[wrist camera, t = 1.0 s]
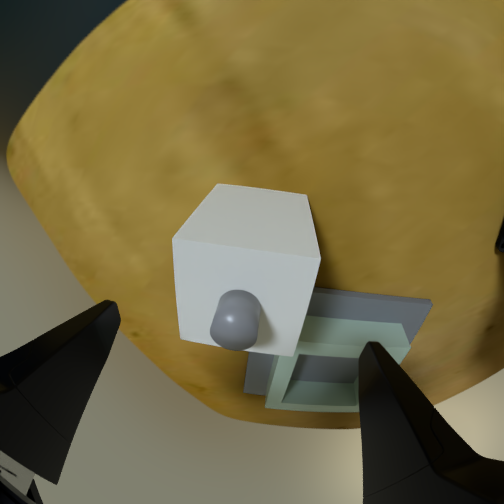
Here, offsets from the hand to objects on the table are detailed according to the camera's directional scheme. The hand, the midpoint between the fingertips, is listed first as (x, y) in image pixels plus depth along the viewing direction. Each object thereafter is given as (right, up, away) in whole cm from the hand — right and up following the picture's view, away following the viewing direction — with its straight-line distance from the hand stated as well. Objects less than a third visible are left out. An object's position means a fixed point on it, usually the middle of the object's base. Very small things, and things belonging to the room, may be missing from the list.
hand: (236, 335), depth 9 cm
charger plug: (+1, +4, +7) cm, 9 cm away
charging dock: (+7, -6, +12) cm, 15 cm away
